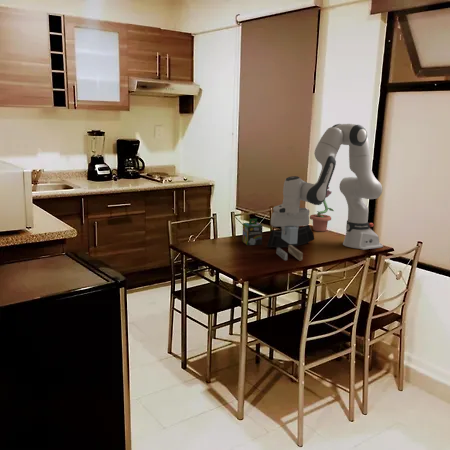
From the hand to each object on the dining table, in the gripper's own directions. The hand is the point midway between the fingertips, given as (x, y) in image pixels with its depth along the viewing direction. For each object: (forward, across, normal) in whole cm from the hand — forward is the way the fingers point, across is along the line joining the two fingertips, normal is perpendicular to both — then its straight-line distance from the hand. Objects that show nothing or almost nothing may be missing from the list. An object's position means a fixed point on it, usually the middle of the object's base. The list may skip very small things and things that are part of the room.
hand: (289, 234), depth 244 cm
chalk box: (+12, +11, -29) cm, 33 cm away
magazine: (+12, -10, -20) cm, 25 cm away
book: (+4, 0, 0) cm, 4 cm away
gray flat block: (+12, +4, 0) cm, 13 cm away
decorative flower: (+12, -43, -52) cm, 69 cm away
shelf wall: (+12, -4, 0) cm, 13 cm away
